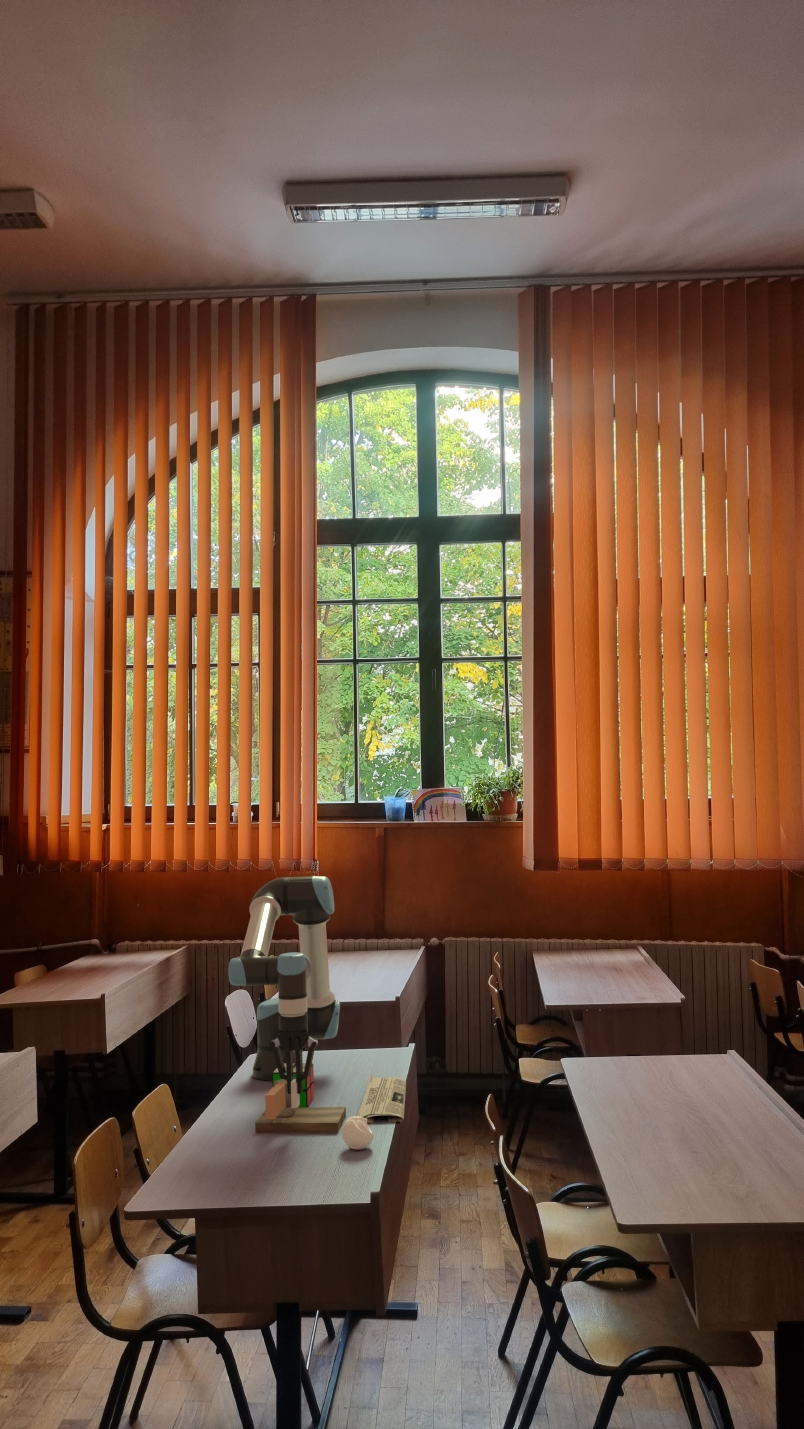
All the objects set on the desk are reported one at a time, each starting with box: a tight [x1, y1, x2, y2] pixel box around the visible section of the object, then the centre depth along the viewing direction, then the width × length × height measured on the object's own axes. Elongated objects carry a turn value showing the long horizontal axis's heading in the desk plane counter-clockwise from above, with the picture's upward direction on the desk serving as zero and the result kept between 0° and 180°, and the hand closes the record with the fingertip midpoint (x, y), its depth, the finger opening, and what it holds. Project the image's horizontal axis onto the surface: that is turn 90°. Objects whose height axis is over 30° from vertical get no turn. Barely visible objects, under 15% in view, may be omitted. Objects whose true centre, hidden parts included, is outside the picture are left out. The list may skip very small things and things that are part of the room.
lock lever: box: [264, 1079, 291, 1119], centre depth 257 cm, size 5×14×6 cm, turn 170°
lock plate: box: [254, 1106, 347, 1134], centre depth 259 cm, size 13×22×4 cm, turn 84°
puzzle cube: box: [271, 1062, 315, 1107], centre depth 278 cm, size 10×10×10 cm
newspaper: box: [357, 1074, 407, 1124], centre depth 276 cm, size 35×12×4 cm, turn 179°
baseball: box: [341, 1115, 374, 1151], centre depth 239 cm, size 8×8×8 cm
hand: (295, 1106), depth 252 cm, fingers closed
